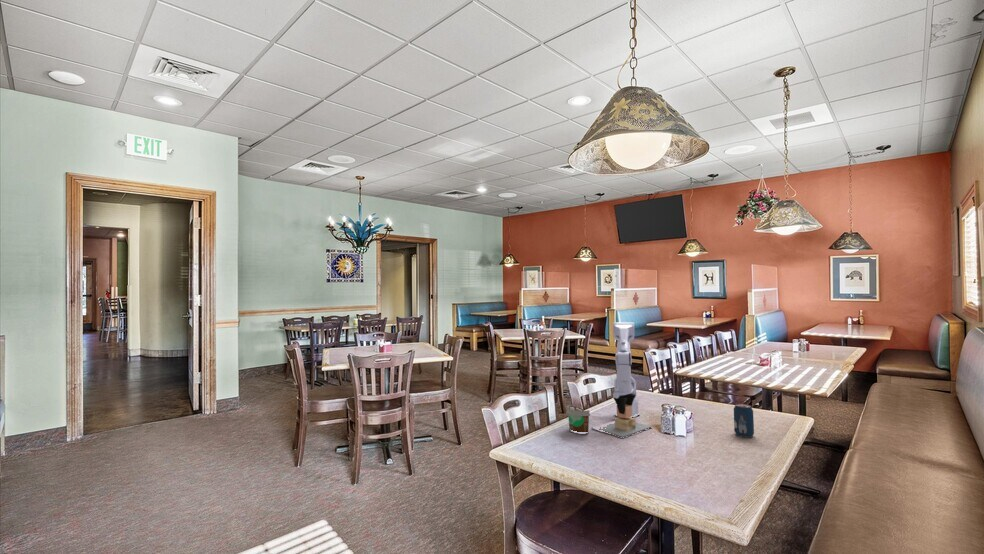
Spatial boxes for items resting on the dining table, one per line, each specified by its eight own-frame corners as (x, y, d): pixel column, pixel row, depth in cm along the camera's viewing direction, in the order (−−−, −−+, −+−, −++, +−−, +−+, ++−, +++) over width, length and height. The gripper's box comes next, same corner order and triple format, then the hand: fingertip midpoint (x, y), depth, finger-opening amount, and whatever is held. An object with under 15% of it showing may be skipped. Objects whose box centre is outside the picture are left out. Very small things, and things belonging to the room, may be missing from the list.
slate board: (620, 419, 202) (620, 418, 202) (651, 428, 189) (651, 426, 189) (591, 429, 190) (591, 427, 190) (622, 438, 177) (622, 436, 177)
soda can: (749, 432, 182) (748, 403, 182) (757, 438, 175) (756, 407, 175) (731, 432, 182) (730, 403, 183) (739, 438, 175) (738, 407, 176)
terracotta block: (622, 414, 192) (622, 403, 192) (631, 416, 188) (631, 405, 189) (616, 416, 189) (616, 405, 189) (626, 418, 185) (626, 407, 186)
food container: (561, 428, 191) (560, 405, 191) (572, 426, 194) (572, 403, 194) (578, 437, 180) (577, 412, 180) (590, 435, 183) (589, 410, 183)
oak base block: (623, 424, 192) (623, 415, 193) (635, 428, 188) (635, 418, 188) (615, 427, 189) (614, 418, 189) (627, 431, 184) (626, 421, 184)
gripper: (624, 376, 197) (625, 407, 196) (606, 381, 187) (607, 413, 186) (639, 378, 191) (640, 410, 191) (621, 384, 182) (622, 417, 181)
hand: (625, 412), depth 188 cm, fingers closed on terracotta block, 4 cm apart
